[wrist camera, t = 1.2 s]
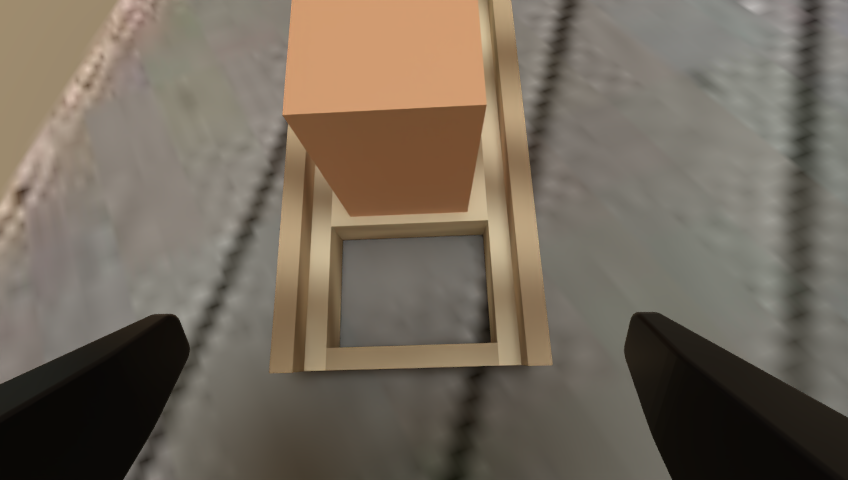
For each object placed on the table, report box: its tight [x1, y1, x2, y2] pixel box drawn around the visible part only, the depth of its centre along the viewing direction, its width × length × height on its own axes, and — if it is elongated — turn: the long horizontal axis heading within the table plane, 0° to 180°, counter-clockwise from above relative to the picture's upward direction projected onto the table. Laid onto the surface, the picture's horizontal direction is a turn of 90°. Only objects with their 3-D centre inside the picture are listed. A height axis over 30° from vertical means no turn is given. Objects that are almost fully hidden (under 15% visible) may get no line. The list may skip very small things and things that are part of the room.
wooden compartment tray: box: [269, 0, 553, 373], centre depth 23 cm, size 30×12×4 cm, turn 2°
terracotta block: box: [283, 0, 487, 217], centre depth 17 cm, size 6×6×9 cm
